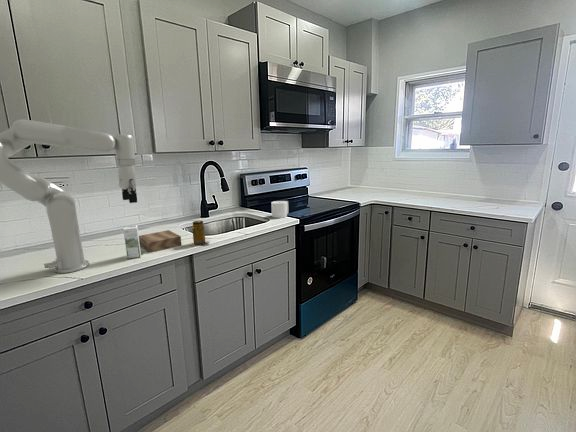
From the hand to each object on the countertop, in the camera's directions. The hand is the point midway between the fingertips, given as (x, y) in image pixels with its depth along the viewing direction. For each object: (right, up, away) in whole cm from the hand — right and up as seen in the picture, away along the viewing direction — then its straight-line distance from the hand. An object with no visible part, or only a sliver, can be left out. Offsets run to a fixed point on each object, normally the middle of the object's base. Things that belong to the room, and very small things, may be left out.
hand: (129, 201), depth 145 cm
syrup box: (0, -26, +5) cm, 26 cm away
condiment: (+26, -21, +22) cm, 41 cm away
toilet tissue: (+66, -7, +80) cm, 104 cm away
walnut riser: (+6, -22, +20) cm, 30 cm away
